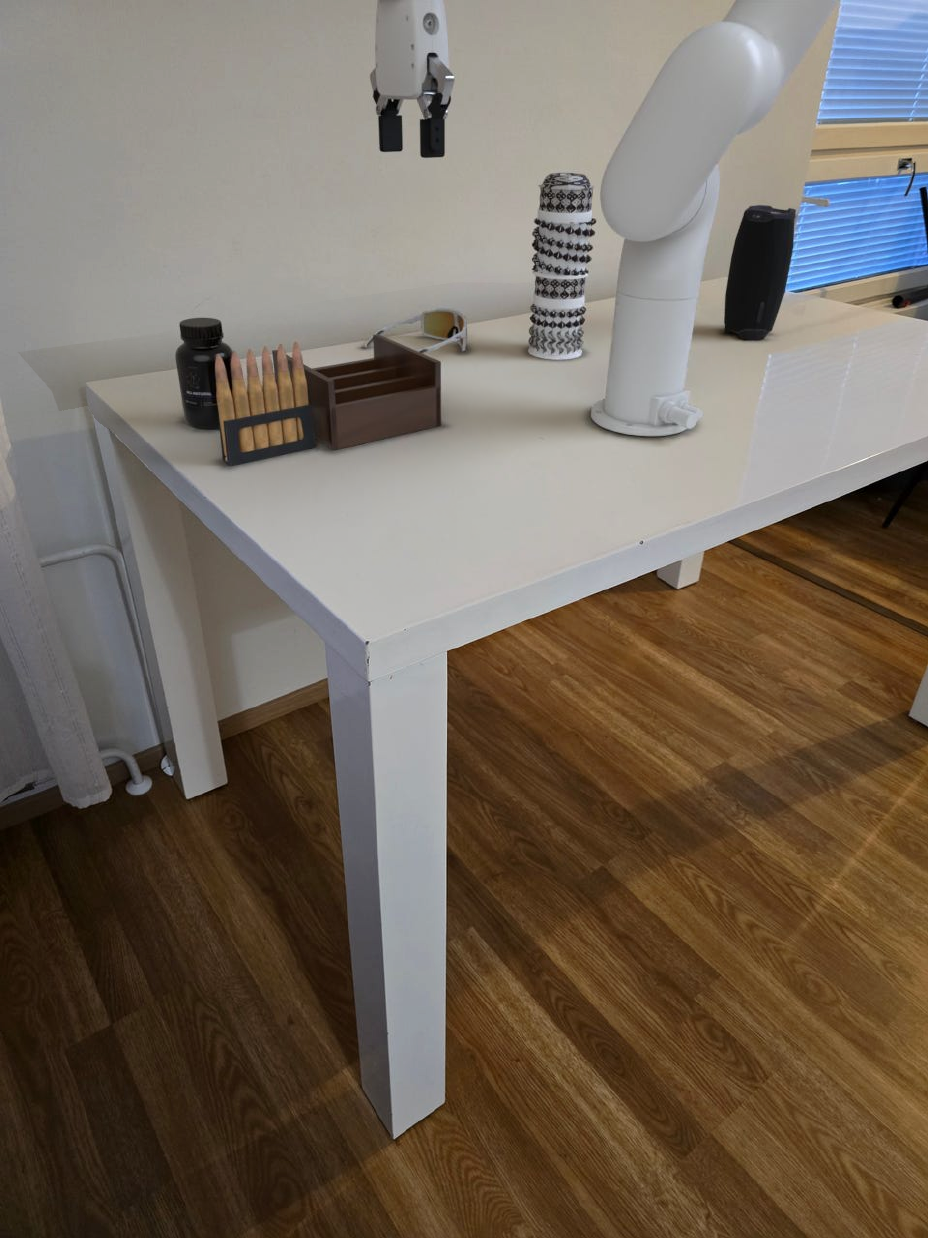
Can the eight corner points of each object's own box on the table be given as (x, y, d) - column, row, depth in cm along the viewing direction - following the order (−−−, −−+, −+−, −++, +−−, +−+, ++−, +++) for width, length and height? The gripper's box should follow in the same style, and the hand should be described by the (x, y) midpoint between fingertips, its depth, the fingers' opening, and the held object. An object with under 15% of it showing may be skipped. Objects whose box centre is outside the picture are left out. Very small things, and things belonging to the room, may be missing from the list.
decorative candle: (587, 360, 130) (604, 178, 116) (527, 359, 130) (537, 176, 116) (581, 344, 137) (596, 171, 124) (524, 343, 137) (533, 170, 124)
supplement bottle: (192, 433, 102) (175, 331, 95) (180, 416, 107) (163, 318, 100) (248, 425, 104) (235, 325, 98) (234, 408, 109) (221, 312, 103)
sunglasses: (486, 351, 133) (483, 319, 130) (405, 379, 127) (400, 347, 124) (437, 331, 143) (433, 301, 140) (360, 357, 137) (354, 326, 134)
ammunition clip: (228, 466, 93) (212, 357, 87) (222, 461, 95) (206, 352, 88) (316, 447, 99) (307, 342, 92) (309, 442, 100) (299, 338, 93)
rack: (441, 425, 105) (441, 361, 101) (333, 450, 98) (327, 381, 93) (380, 393, 115) (378, 333, 111) (278, 413, 108) (271, 350, 104)
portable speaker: (720, 326, 149) (742, 203, 138) (776, 331, 146) (802, 206, 136) (716, 337, 142) (738, 209, 132) (774, 343, 140) (801, 212, 129)
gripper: (478, -20, 92) (475, 158, 101) (397, -11, 104) (401, 148, 113) (420, -25, 89) (423, 160, 98) (342, -14, 100) (351, 150, 110)
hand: (411, 154), depth 106 cm, fingers open, 9 cm apart
